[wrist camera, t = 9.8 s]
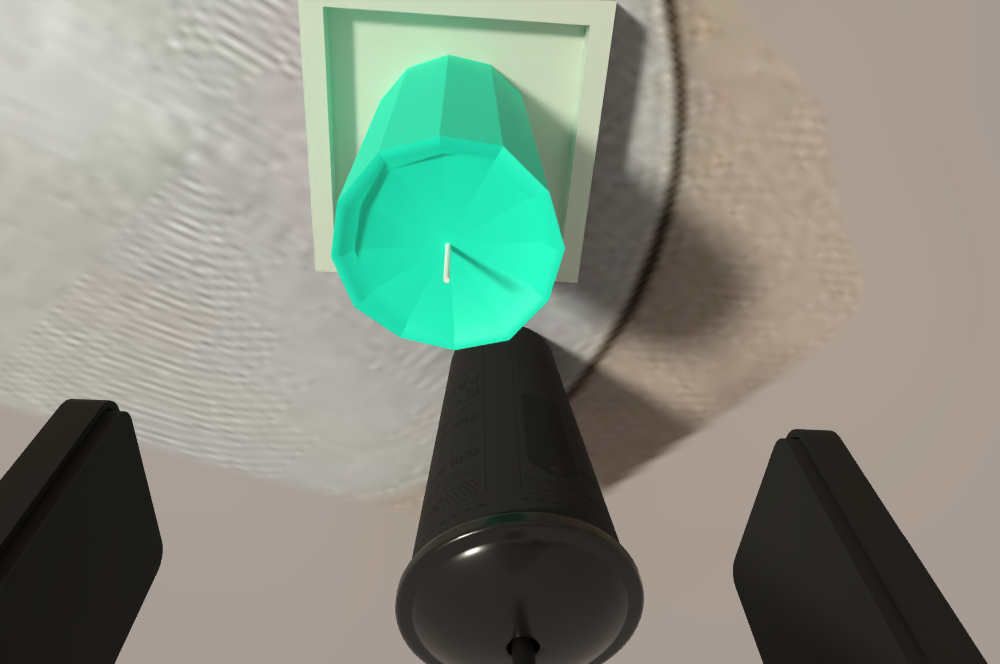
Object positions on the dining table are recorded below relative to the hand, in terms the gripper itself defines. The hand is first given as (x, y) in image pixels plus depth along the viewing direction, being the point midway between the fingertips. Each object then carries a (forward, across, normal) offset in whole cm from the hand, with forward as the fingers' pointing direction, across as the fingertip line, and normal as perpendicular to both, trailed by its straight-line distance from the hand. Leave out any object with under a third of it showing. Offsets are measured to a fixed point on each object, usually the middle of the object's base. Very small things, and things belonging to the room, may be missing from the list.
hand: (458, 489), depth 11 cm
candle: (+20, +1, +1) cm, 20 cm away
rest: (+20, +1, +1) cm, 20 cm away
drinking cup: (+20, -2, +12) cm, 23 cm away
